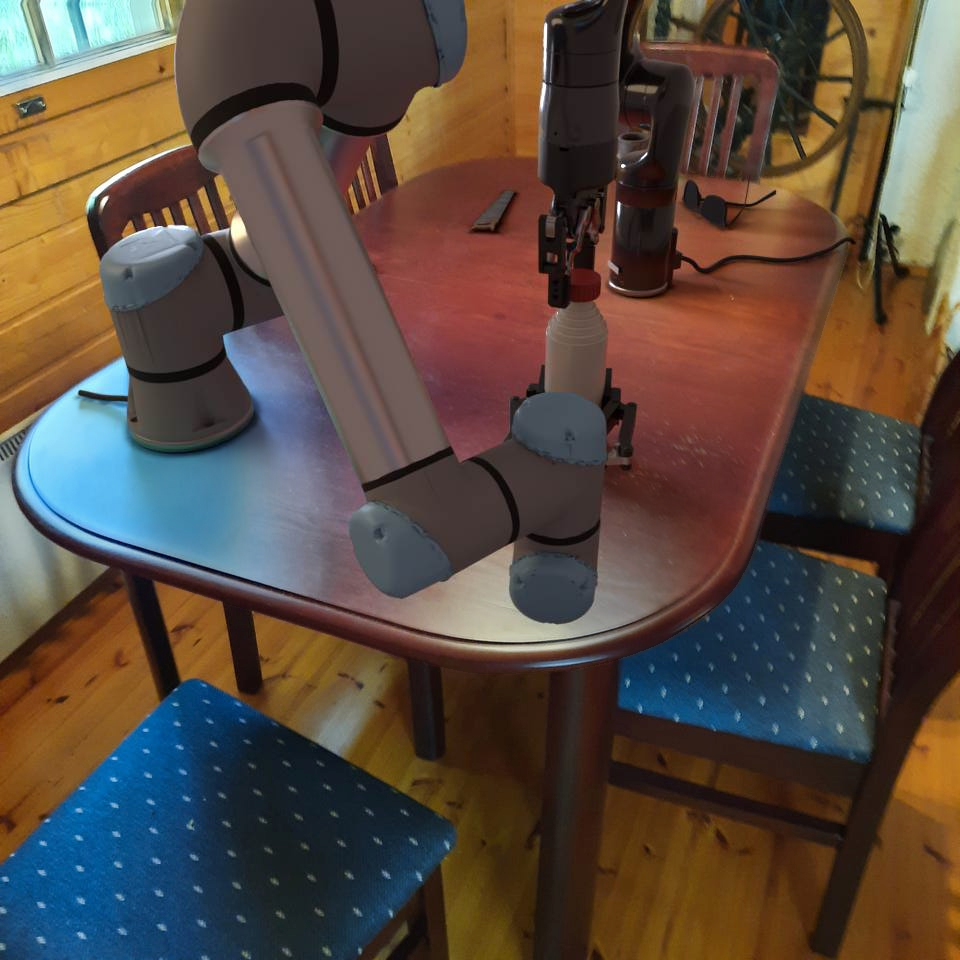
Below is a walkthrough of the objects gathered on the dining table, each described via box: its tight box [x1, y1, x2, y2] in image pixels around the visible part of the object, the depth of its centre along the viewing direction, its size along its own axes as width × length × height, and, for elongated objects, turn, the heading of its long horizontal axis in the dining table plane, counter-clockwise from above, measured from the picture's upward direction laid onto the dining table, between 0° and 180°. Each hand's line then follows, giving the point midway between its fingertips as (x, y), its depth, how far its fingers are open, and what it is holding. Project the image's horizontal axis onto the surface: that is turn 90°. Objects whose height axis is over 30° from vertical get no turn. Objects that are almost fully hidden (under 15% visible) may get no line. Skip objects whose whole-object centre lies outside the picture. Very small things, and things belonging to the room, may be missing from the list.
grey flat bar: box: [470, 189, 515, 232], centre depth 168 cm, size 24×5×1 cm, turn 168°
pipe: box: [615, 131, 650, 176], centre depth 181 cm, size 6×13×8 cm, turn 95°
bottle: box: [544, 300, 610, 411], centre depth 96 cm, size 7×7×21 cm
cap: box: [570, 268, 602, 303], centre depth 90 cm, size 4×4×2 cm
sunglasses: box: [681, 175, 777, 228], centre depth 163 cm, size 17×14×5 cm
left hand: (576, 376), depth 103 cm, fingers closed on bottle, 7 cm apart
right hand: (571, 291), depth 91 cm, fingers open, 7 cm apart
